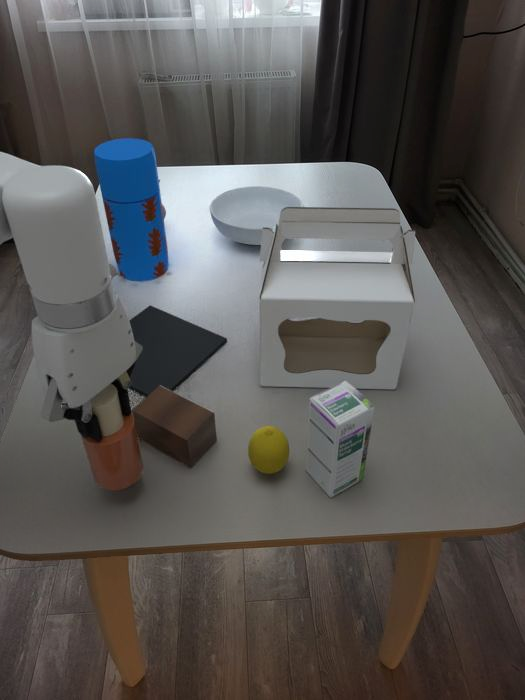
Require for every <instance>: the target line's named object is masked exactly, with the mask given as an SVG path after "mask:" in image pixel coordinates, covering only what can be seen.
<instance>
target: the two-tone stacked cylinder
mask: <svg viewBox="0 0 525 700" xmlns="http://www.w3.org/2000/svg"><path fill="white" fill-rule="evenodd" d="M91 404H92V414H94V415H96V416H97V418H98V421H99V425H100V429H101V433H102V436H103V437H102V440H100V441H99V442H97V441H95V440H93V439H92V438H90V437H88V438H85V437H84V436H82V435H81V434H80V433H79V434H80V438H81V441H82V445H83V448H84V452H85V454H86V458H87V461H88V464H89V467H90V470H91V474H92V477H93V480H94V482H95V484H96V485H97V486H99V487H100V488H102V489H105V490H107V491H120V490H124V489H126V488H128V487H131V486H132V485H133V484H135V483H136V482H137V481H138V480H139V479H140V477H141V475H142V473H143V470H144V461H143V456H142V452H141V447H140V446H141V445H140V442H139V438H138V436H137V431H136V426H135V421H134V417H133V414H132V413H131V414H130V415H129V416H124V415H123V414H122V410H121V405H120V401H119V396H118V391H117V389H116V387H115V386H114V385H113V384H111V383H110V384H109V385H108V386H107V387H105V388H104V389H103V390H102V391H100V392H99V393H98V394H97V395H95V396H94V397H93V398H91Z"/></svg>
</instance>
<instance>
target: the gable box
mask: <svg viewBox="0 0 525 700" xmlns="http://www.w3.org/2000/svg"><path fill="white" fill-rule="evenodd" d="M287 239H289V240H294V239H309V240H310V239H317V240H323V239H325V240H370V241H371V240H373V241H374V240H376V241H377V240H378V241H379V240H380V241H382V242H383V241H384V242H385V241H389V242H390V243H391V245H392V249H391V251H344V250H342V251H341V250H339V251H338V250H287V249H286V250H284V249H283V250H282V244H283V243H284V242H285V240H287ZM415 242H416V229H408V230H406V231H405V232H404V231H403V227H402V225H401V213H400V211H399V210H398V209H397V208H392V207H391V208H390V207H389V208H387V207H386V208H385V207H383V208H382V207H326V206H325V207H324V206H323V207H321V206H319V207H318V206H315V207H314V206H304V207H285V208H283V209H282V211H281V213H280V218H279V222H278V225H277V224H275V225H274V227H273V229H272V230H271V229H270V228H266V227H263V229H262V240H261V245H260V251H259V262H261V271H260V286H259V300H258V301H259V303H258V304H259V385H260V386H262V387H277V388H278V387H279V388H283V387H284V388H287V387H288V388H318V389H320V388H322V389H330V388H332V387H334V386H337V385H339V384H341V383H342V382H344V381H347V382H348V383H349V384H350V385H352V386H353V387H354V388H355V389H357V390H359V389H360V390H362V389H363V390H396V389H397V387H398V382H399V377H400V372H401V368H402V364H403V358H404V354H405V350H406V345H407V340H408V337H409V331H410V327H411V322H412V319H413V318H412V316H413V312H414V309H415V304H416V297H415V293H414V286H413V281H412V275H411V267H410V265H413V262H414V250H415ZM294 318H312V319H307V320H292V319H294ZM358 321H361V322H358Z"/></svg>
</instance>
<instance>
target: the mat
mask: <svg viewBox="0 0 525 700" xmlns="http://www.w3.org/2000/svg"><path fill="white" fill-rule="evenodd" d="M129 322H130V325H131V329H132V333H133V337H134V341H136V342H137V343H138V344H140V345H141V346H142V347H143V349H142V351H141V353H140V355H139V357H138V358H137V360H136V362H134V363H135V366H134V369H133V371H132V373H131V376H130V381H131V385H130V387H129V388H128V389H130V390H132V391H135V392H136V393H137V394H140V395H142V396H144V397H145V398H146V397H147V396H148V395H150V394H151V393H152V392H153V391H154V390H155V389H156V388H157V387H159V386H160V385H161V386H163V387H165V388H167V389H169V390H171V391H172V392H174V391H175V390H176V389H178V387H179V386H181V385H182V384H183V383H184V382H185V381H187V379H188V378H189V377H191V375H192V374H194V373H195V372H196V371H197V370H198V369H199V368H200V367H201V366H202V365H203V364H205V363H206V362H207V361H208V360H209V359H210V358H211V357H212V356H213V355H215V353H216V352H218V351H219V350H220V349H221V348H222V347H223V346H225V344H227V343H228V338H227V337H224V336H222V335H220V334H218V333H215V332H213V331H210V330H209V329H206V328H204V327H201V326H199V325H197V324H195V323H193V322H190V321H187V320H185V319H183V318H181V317H178V316H177V315H174V314H172V313H170V312H167V311H165V310H163V309H160V308H157V307H155V306H153V305H148V306H147V307H146V308H144V309H143V310H142V311H140V312H139V313H137V314H136V315H135V316H133V317H132V318H131V319H129Z"/></svg>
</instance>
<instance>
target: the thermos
mask: <svg viewBox="0 0 525 700" xmlns="http://www.w3.org/2000/svg"><path fill="white" fill-rule="evenodd" d="M93 154H94V165H95V168H96V174H97V178H98V183H99V188H100V193H101V198H102V203H103V207H104V212H105V213H104V214H105V217H106V223H107V228H108V233H109V237H110V242H111V247H112V252H113V256H114V260H115V264H116V267H117V268H116V269H117V272H118V274H119V273H120V274H119V276H120V277H122V276H123V277H124V278H123V277H122V278H123V279H125V280H129V281H132V282H148V281H152V280H155V279H158V278H160V277H162V276H163V275H164V274H165V273H167V271H168V269H169V266H170V265H169V249H168V241H167V234H166V233H167V232H166V227H165V219H164V217H163V210H162V204H163V203H162V198H161V197H162V195H161V188H160V182H159V180H160V179H159V171H158V165H157V164H158V163H157V157H156V153H155V149H154V145H153V144H152V142H149V141H147V140H145V139H140V138H131V137H129V138H116V139H113V140H107V141H105V142H102V143H100V144H99V145H98V146H96V147H95V148H94V151H93Z"/></svg>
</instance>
